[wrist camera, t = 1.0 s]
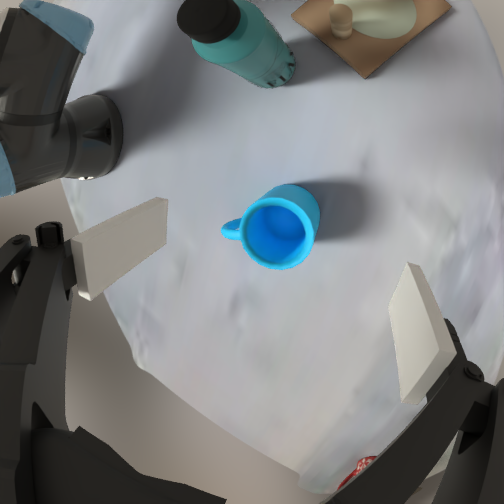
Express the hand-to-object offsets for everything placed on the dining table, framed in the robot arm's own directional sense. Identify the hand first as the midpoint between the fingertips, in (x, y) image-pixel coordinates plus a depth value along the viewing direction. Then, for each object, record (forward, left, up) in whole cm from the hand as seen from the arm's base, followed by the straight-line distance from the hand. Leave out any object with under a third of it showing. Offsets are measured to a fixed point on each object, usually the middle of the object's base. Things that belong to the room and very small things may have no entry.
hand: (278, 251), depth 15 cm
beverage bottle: (-14, +7, -24) cm, 28 cm away
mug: (0, -7, -24) cm, 25 cm away
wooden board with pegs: (-11, +23, -23) cm, 34 cm away
